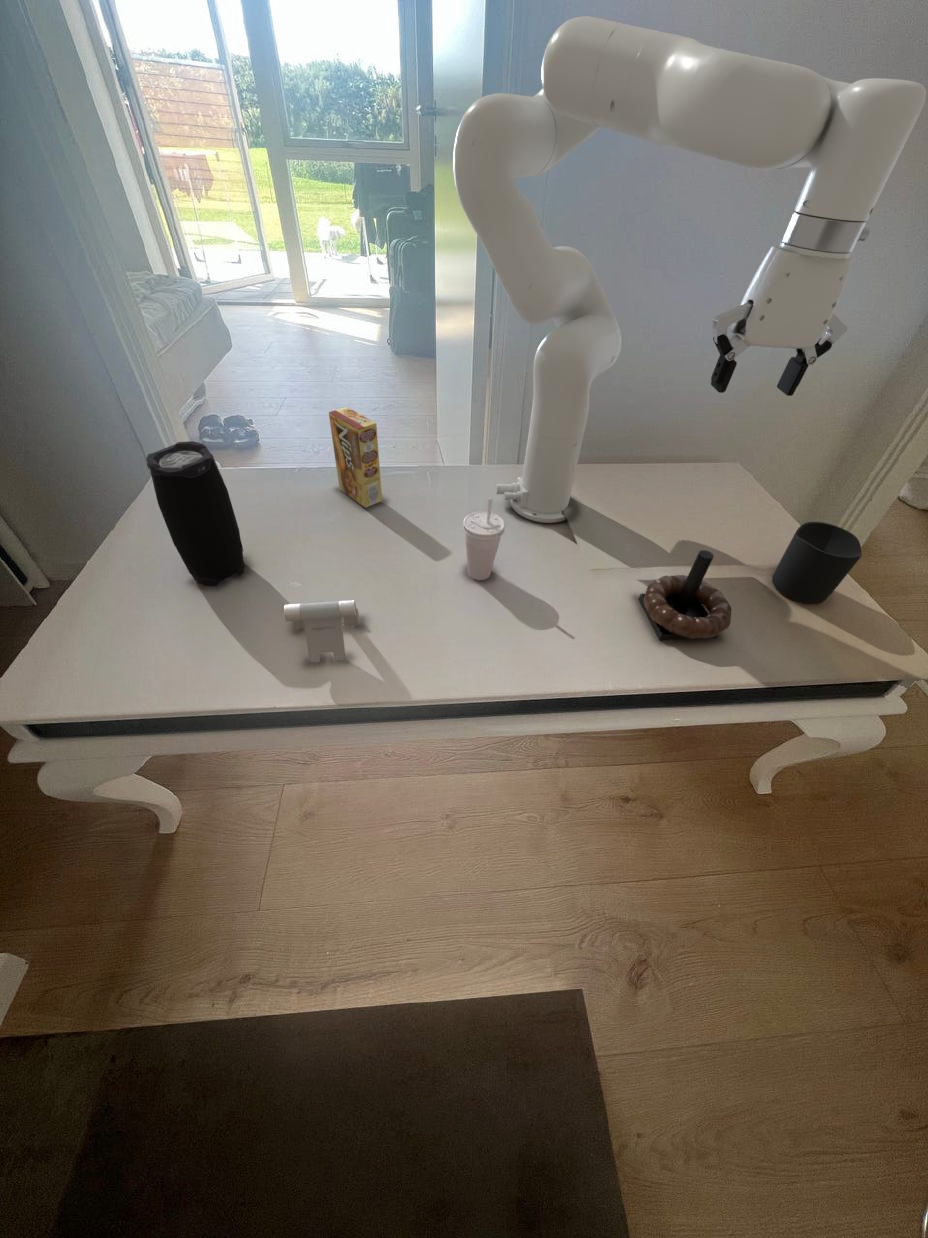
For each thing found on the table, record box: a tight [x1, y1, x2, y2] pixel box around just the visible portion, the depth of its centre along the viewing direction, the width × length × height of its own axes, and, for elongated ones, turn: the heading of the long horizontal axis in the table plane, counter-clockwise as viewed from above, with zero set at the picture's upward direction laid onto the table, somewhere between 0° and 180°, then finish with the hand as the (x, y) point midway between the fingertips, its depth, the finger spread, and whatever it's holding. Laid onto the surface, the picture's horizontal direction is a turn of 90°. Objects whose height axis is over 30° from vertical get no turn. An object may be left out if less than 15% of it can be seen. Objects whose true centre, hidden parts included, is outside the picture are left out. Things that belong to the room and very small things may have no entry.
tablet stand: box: [283, 599, 360, 663], centre depth 70 cm, size 9×8×8 cm
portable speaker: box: [146, 440, 246, 587], centre depth 75 cm, size 9×9×20 cm
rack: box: [638, 549, 720, 641], centre depth 76 cm, size 9×9×12 cm
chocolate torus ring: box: [644, 574, 732, 640], centre depth 78 cm, size 12×12×3 cm
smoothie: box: [462, 496, 506, 581], centre depth 80 cm, size 6×6×14 cm
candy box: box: [328, 406, 383, 509], centre depth 94 cm, size 9×4×15 cm, turn 44°
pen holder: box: [771, 521, 863, 605], centre depth 83 cm, size 9×9×10 cm
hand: (750, 390), depth 71 cm, fingers open, 9 cm apart
